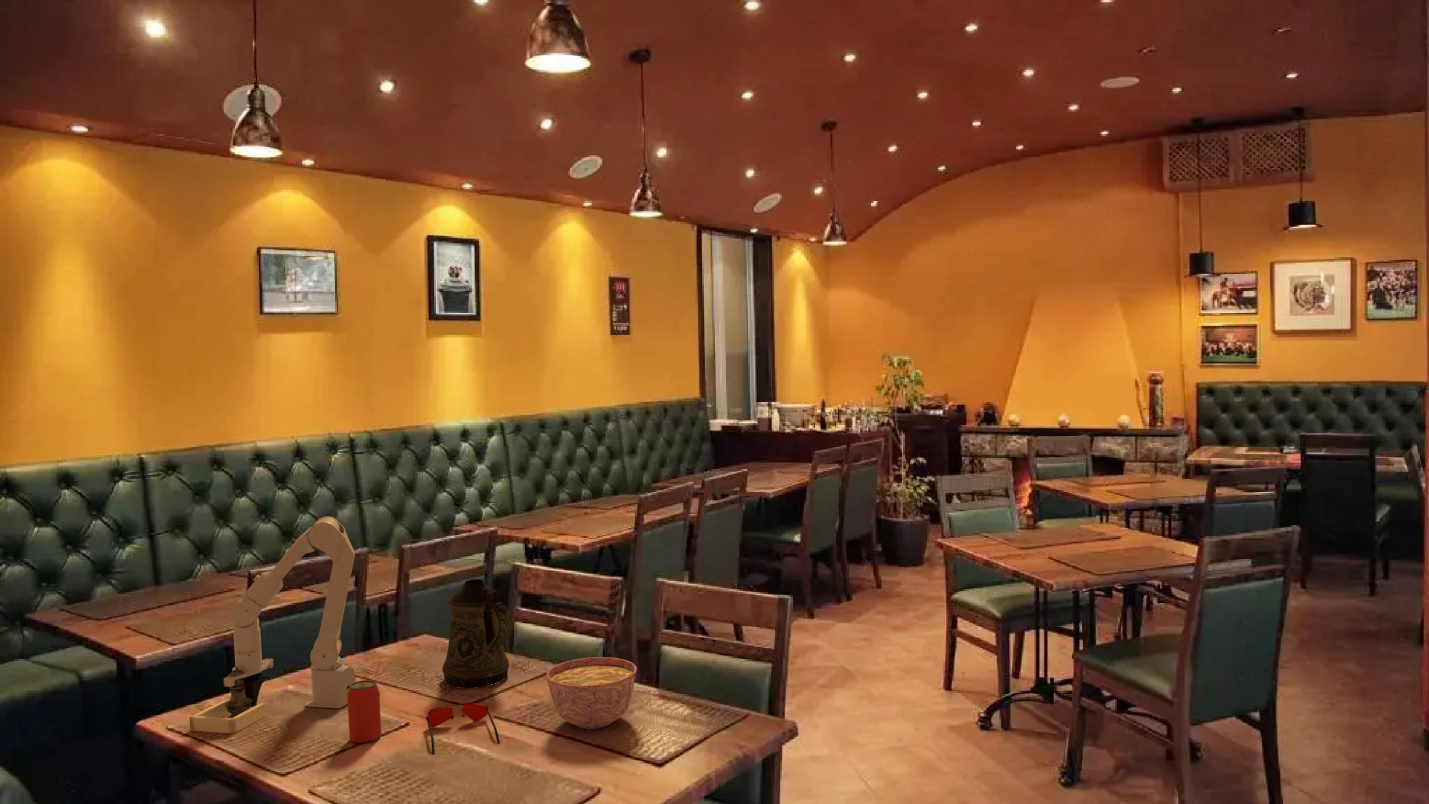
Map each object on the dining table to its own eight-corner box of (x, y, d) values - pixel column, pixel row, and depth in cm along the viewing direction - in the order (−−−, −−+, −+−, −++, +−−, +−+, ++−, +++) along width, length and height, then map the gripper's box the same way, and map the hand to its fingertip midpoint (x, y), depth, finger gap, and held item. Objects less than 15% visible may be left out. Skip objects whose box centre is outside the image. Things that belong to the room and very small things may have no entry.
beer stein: (458, 667, 268) (453, 573, 267) (529, 668, 266) (525, 573, 264) (432, 688, 252) (427, 588, 251) (507, 690, 249) (503, 589, 248)
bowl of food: (657, 719, 227) (655, 668, 226) (588, 747, 212) (585, 692, 212) (598, 699, 240) (596, 651, 240) (529, 724, 226) (527, 673, 225)
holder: (266, 715, 236) (265, 703, 236) (233, 733, 226) (233, 720, 226) (224, 713, 239) (223, 700, 239) (190, 730, 229) (189, 717, 228)
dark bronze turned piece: (242, 722, 233) (239, 670, 232) (219, 721, 234) (216, 670, 233) (258, 713, 238) (255, 662, 238) (236, 712, 239) (233, 662, 239)
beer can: (352, 746, 216) (349, 691, 216) (347, 736, 222) (344, 682, 221) (384, 740, 219) (381, 685, 219) (378, 730, 225) (376, 677, 225)
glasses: (489, 719, 231) (488, 697, 231) (500, 745, 216) (499, 722, 215) (425, 729, 226) (424, 707, 226) (432, 756, 211) (431, 733, 211)
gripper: (254, 640, 247) (257, 695, 248) (211, 658, 233) (214, 716, 234) (279, 641, 245) (282, 696, 246) (237, 660, 231) (241, 718, 232)
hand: (251, 706), depth 240 cm, fingers closed
